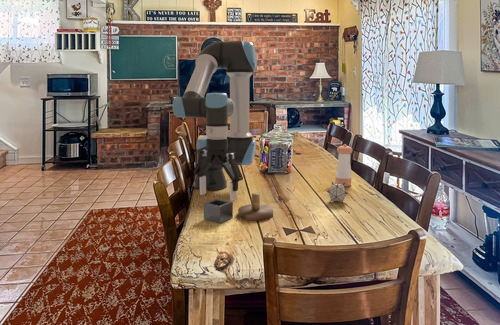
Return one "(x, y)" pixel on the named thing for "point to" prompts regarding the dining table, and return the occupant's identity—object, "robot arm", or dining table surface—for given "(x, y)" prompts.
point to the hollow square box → (218, 210)
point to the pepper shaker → (343, 166)
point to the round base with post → (255, 210)
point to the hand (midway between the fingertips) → (217, 196)
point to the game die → (337, 192)
